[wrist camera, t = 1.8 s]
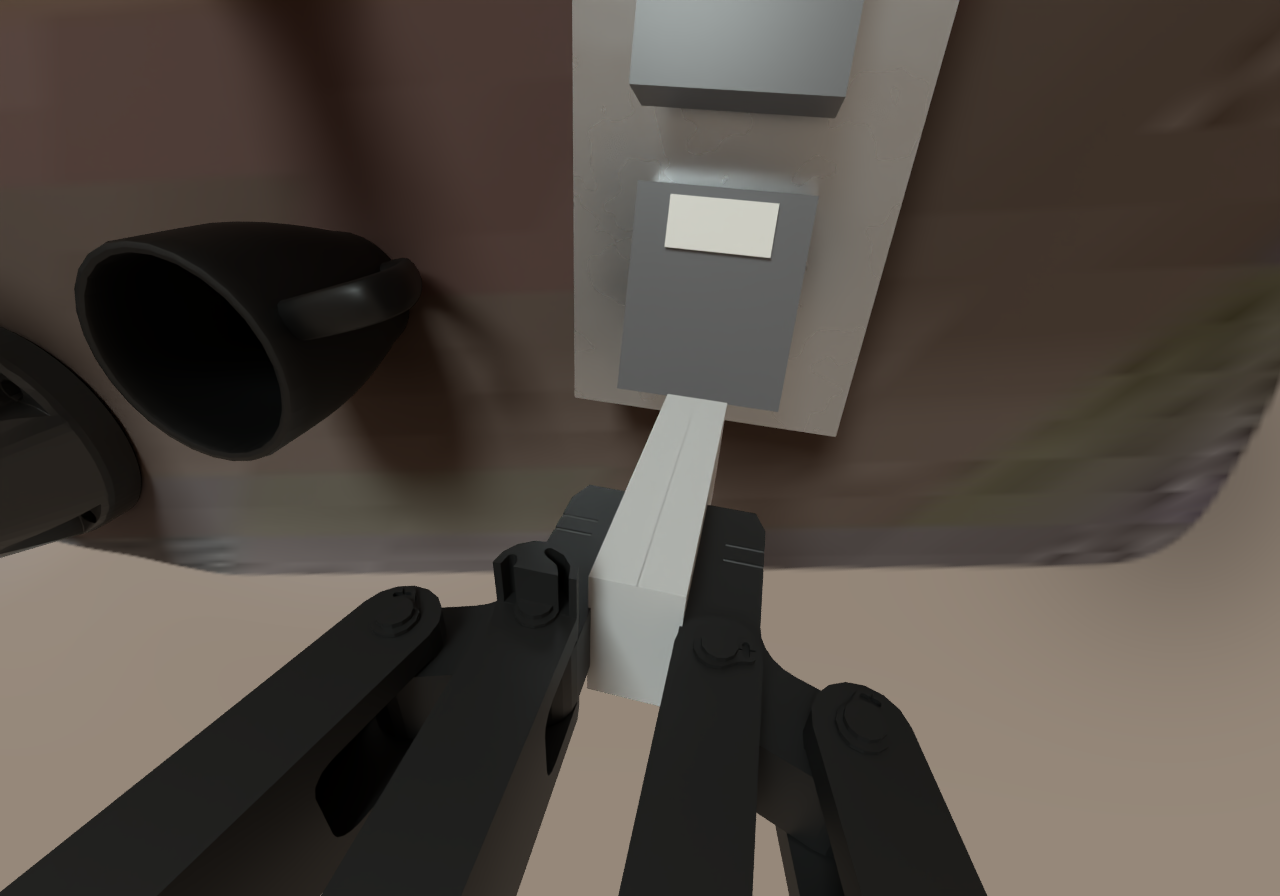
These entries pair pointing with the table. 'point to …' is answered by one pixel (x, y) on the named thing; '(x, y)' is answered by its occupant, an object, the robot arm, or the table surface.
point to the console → (753, 160)
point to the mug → (241, 327)
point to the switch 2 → (714, 291)
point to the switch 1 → (745, 55)
